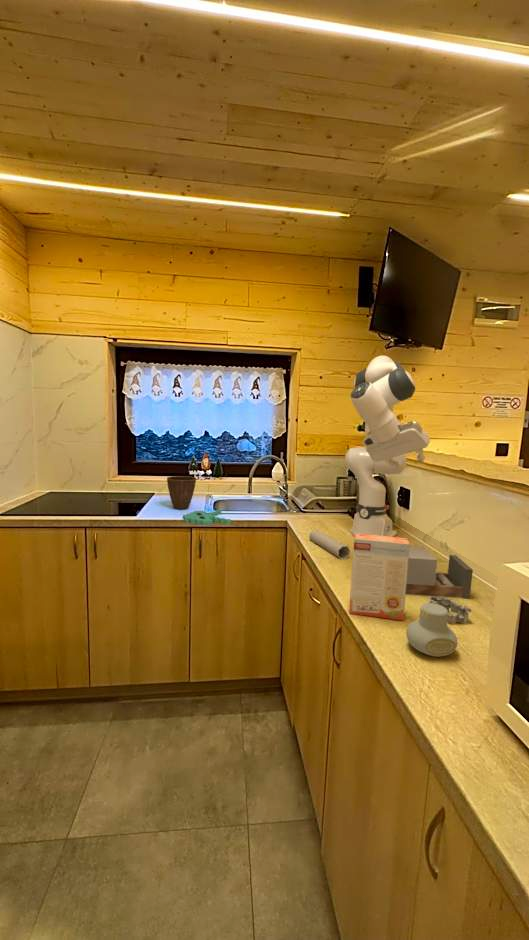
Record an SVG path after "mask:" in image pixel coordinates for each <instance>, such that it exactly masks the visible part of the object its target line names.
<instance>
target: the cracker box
mask: <svg viewBox="0 0 529 940" xmlns="http://www.w3.org/2000/svg"><path fill="white" fill-rule="evenodd" d="M410 545H411V544H410V541H409V540H408V538H407V537H397V536H394V537H389V536H378V535H368V534H358V533H355V536H354V540H353V551H352V563H351V564H352V565H351V576H350V577H351V578H350V595H349V609H348V610H349V611H348V613H349V614H353V615H361V616H368V617H375V618H382V619H387V620H388V619H389V620H397V621H404V616H405V615H404V614H405V603H406V595H407V594H406V582H407V570H408V559H409V548H410Z"/></svg>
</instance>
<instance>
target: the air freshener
mask: <svg viewBox="0 0 529 940" xmlns="http://www.w3.org/2000/svg"><path fill="white" fill-rule="evenodd" d="M419 610H420V611H419V619H417V620H415V621H413V622H411V623H410V624H408V626H407V627H406V632H405V634H406V638H407V641H408V642H409V644H410V645H411V646H412V648H414V649H416V650H417V651H419V652H420V653H422V654H425V655H427V656H430V657H434V658H438V657H445V656H448V655H450V654H453V652H455V650H456V649H457V647H458V638H457V635H456V633H455V632H454V631H453V630H452V629H451V628H450V626H448V622H447V621H448V610H447V609H446V608H445V607H443V606H441V605H438V604H434V603H429V602H428V603H427V602H425V603H423V604H421V606H420V609H419Z"/></svg>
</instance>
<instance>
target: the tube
mask: <svg viewBox="0 0 529 940" xmlns="http://www.w3.org/2000/svg"><path fill="white" fill-rule="evenodd" d="M308 538H309V539H310V541H312V542H313V543H314V544H317V546H318V545H319V547H321V548H322V549H324V550H326V551H328V552H329V553H330V554H332V555H334V556H335V557H337V558H338V559H339V560H345V559H348V558H349V557H350V555H351V549H350V548H349V546H348V545H345V544H343V543H342V542H339V541H338V540H337V539H334V538H333V537H331V536H329V535H327V534H326V533H324V532H321V531H320V530H318V529H312V530H311V531H310V532H309V537H308Z"/></svg>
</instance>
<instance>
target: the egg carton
mask: <svg viewBox="0 0 529 940" xmlns="http://www.w3.org/2000/svg"><path fill="white" fill-rule="evenodd" d="M427 597H428V599H429V602H428V603H434V604H438V605H441V606H443V607H445V608H446V609H447V610H448V621H447V624H448V623H449V624H450V625H456V622H457V623H461V624H467V623H468V621H469V613H471V612H472V609H471V608H470V607H468V606H466V605H462V604H459V603H458V602H456V601H454V600H451V598H450V597H445V598H444V596H431V595H427ZM450 612H452V613H450ZM453 613H454V614H455V615H454V614H453Z"/></svg>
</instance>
